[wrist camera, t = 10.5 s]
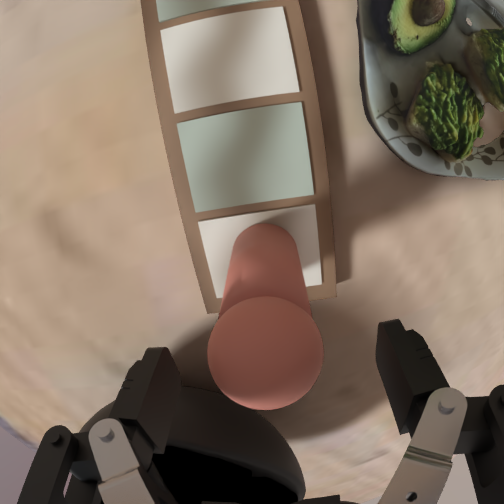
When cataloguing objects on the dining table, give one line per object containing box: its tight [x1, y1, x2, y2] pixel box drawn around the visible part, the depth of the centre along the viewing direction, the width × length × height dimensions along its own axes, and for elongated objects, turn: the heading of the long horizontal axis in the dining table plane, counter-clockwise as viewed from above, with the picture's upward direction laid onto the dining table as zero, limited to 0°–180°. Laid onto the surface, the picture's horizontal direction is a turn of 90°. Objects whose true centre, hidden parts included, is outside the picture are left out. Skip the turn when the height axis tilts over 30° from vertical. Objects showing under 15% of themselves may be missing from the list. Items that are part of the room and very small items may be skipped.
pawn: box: [207, 223, 324, 410], centre depth 14 cm, size 4×4×11 cm
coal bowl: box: [79, 387, 306, 504], centre depth 20 cm, size 20×20×19 cm
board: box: [141, 0, 337, 314], centre depth 16 cm, size 9×26×2 cm, turn 9°
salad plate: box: [356, 0, 504, 180], centre depth 13 cm, size 19×18×5 cm
